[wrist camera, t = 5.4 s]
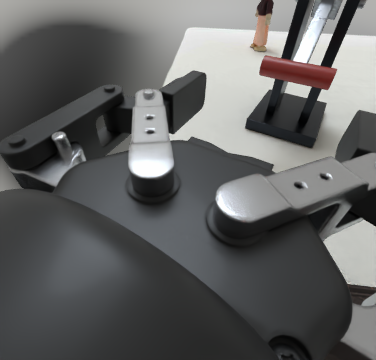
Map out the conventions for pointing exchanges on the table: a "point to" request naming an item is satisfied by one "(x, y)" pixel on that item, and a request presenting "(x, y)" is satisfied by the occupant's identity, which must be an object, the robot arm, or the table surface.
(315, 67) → the lever
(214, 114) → the table surface
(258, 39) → the grandmother figurine
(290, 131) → the bracket
